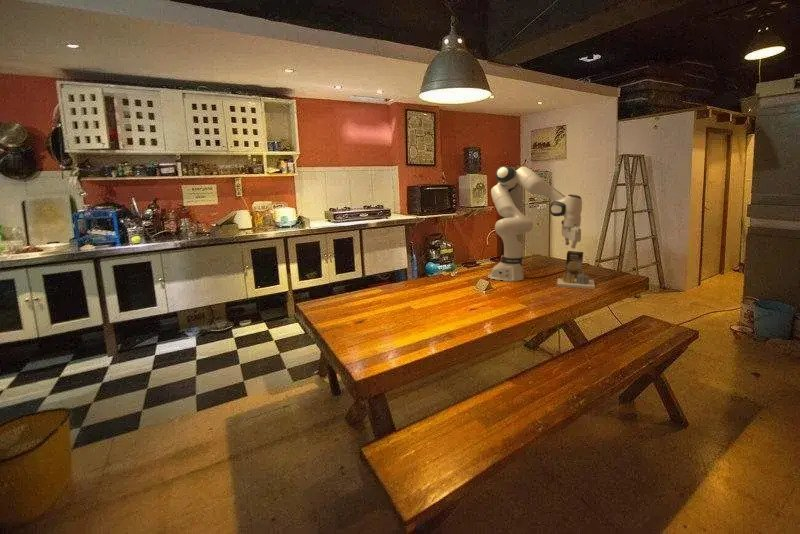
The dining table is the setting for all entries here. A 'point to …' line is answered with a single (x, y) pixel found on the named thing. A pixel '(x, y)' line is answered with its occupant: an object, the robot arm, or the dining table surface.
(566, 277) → the brass gear
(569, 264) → the coffee box
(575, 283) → the gear board
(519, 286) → the dining table surface
